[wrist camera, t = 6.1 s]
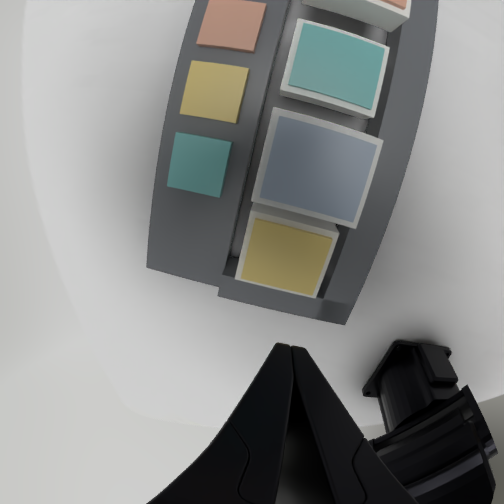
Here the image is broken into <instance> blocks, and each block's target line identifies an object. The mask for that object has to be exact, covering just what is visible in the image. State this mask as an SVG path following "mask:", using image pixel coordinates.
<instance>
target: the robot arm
mask: <svg viewBox="0 0 504 504" xmlns="http://www.w3.org/2000/svg"><path fill="white" fill-rule="evenodd" d="M398 346H399V347H398ZM397 347H398V348H397ZM450 355H451V350H450V349H449V348H446V347H441V346H435V345H428V344H418V343H411V342H405V341H396V342H394V343H393V344H392V346H391V348H390V349H389V351H388V352H387V354H386V356H385V357H384V359H383V360H382V362H381V363H380V365H379V366H378V368H377V369H376V371H375V372H374V374H373V375H372V377H371V378H370V380H369V381H368V383H367V384H366V386H365V387H364V388H363V390H362V392H363V396H365V397H377V398H378V400H379V404H380V408H381V413H382V417H383V421H384V425H385V430H386V434H385V435H383V436H380V437H378V438H376V439H372V440H369V441H367V439H366V438H364V435H363V433H362V432H361V430H360V429H359V428H358V426H357V425H356V423H355V422H354V420H353V419H352V417H351V416H350V414H349V413H348V411H347V410H346V408H345V407H344V405H343V404H342V402H341V401H340V399H339V398H338V396H337V395H336V393H335V392H334V390H333V389H332V387H331V386H330V384H329V383H328V381H327V380H326V378H325V377H324V375H323V374H322V372H321V371H320V369H319V368H318V366H317V365H316V363H315V362H314V360H313V359H312V357H311V356H310V354H309V353H308V351H307V350H306V349H305V348H303V347H298V346H291V347H290V345H288V344H283V343H279V342H277V343H276V344H275V345H274V347H273V349H272V350H271V352H270V354H269V355H268V357H267V358H266V360H265V362H264V363H263V365H262V367H261V368H260V370H259V372H258V373H257V375H256V376H255V378H254V380H253V381H252V383H251V384H250V386H249V387H248V389H247V391H246V392H245V394H244V395H243V397H242V398H241V400H240V401H239V403H238V405H237V406H236V408H235V409H234V411H233V412H232V414H231V415H230V417H229V418H228V420H227V421H226V422H225V424H224V425H223V427H222V428H221V430H220V431H219V433H218V434H217V435H216V437H215V438H214V439H213V440H212V442H211V443H210V445H209V446H208V447H207V448H206V449H205V450H204V451H203V452H202V453H201V454H200V456H199V457H198V458H197V459H196V460H195V461H194V462H193V463H192V464H191V465H190V466H189V467H188V468H187V469H186V470H185V471H183V472H182V473H181V474H180V475H179V476H178V477H177V478H176V479H175V480H174V481H173V482H172V483H171V484H169V485H168V486H167V487H166V488H165V489H164V490H163V491H162V492H160V493H159V494H158V495H157V496H156V497H154V498H153V499H152V500H151V501H149V502H148V503H147V504H491V502H492V499H493V494H494V490H495V486H496V484H495V479H494V475H493V471H492V468H491V465H490V462H489V459H490V458H492V457H494V456H495V455H497V454H498V452H497V449H496V446H495V444H494V441H493V438H492V436H491V433H490V431H489V429H488V426H487V424H486V422H485V420H484V417H483V415H482V413H481V411H480V409H479V407H478V404H477V402H476V400H475V398H474V396H473V394H472V392H471V391H470V389H469V387H468V385H466V386H464V387H463V388H462V390H461V391H459V389H458V387H457V384H456V383H457V382H458V377H457V375H456V373H455V371H454V369H453V367H452V365H451V363H450V362H449V360H448V358H449V357H450Z"/></svg>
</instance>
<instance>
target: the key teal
mask: <svg viewBox="0 0 504 504" xmlns="http://www.w3.org/2000/svg"><path fill="white" fill-rule="evenodd" d="M389 49H390V47H387V46H385V45H383V44H380V43H378V42H375V41H372V40H370V39H367V38H364V37H361V36H359V35H356V34H353V33H350V32H347V31H344V30H340V29H337V28H334V27H330V26H327V25H323V24H320V23H316V22H312V21H308V20H304V19H300V18H298V20H297V24H296V27H295V31H294V35H293V39H292V43H291V47H290V51H289V55H288V59H287V63H286V67H285V71H284V75H283V79H282V83H281V87H280V96H284V97H288V98H292V99H296V100H300V101H304V102H308V103H311V104H315V105H318V106H322V107H325V108H328V109H332V110H335V111H338V112H341V113H344V114H347V115H350V116H353V117H356V118H359V119H368V118H374V116H375V112H376V108H377V104H378V100H379V96H380V92H381V87H382V83H383V78H384V74H385V69H386V64H387V59H388V54H389Z"/></svg>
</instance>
